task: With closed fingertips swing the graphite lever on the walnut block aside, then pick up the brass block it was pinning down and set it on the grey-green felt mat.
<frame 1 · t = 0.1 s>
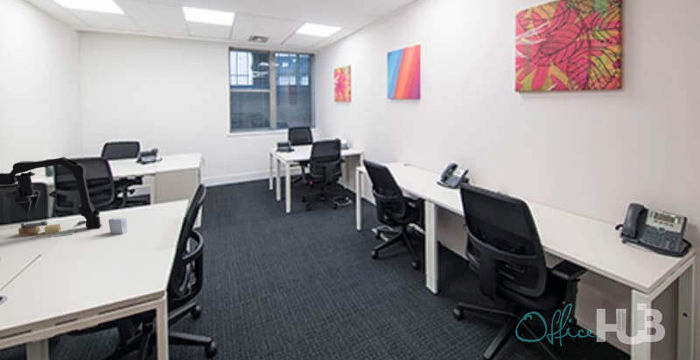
hand: (30, 210, 192), 14 cm above the table, fingers open, 9 cm apart
felt mat: (65, 233, 196), on the table
lever: (34, 224, 194), point 6 cm above the table, hinge at 0.0°
plane block: (30, 233, 195), on the table
brass block: (53, 232, 199), on the table
medicine box: (119, 232, 199), on the table
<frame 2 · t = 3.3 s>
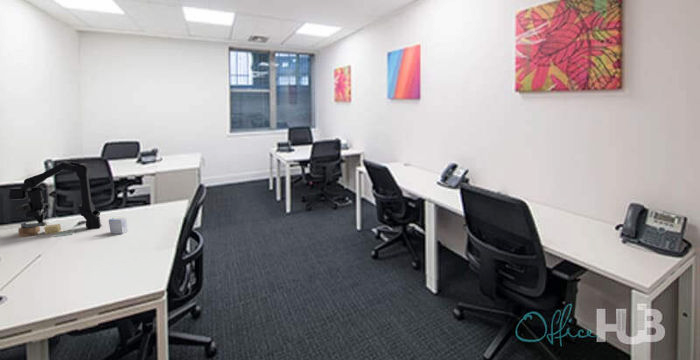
hand: (40, 224, 196), 5 cm above the table, fingers closed
lever: (33, 224, 194), point 6 cm above the table, hinge at 5.2°, touching gripper
everything else where it was.
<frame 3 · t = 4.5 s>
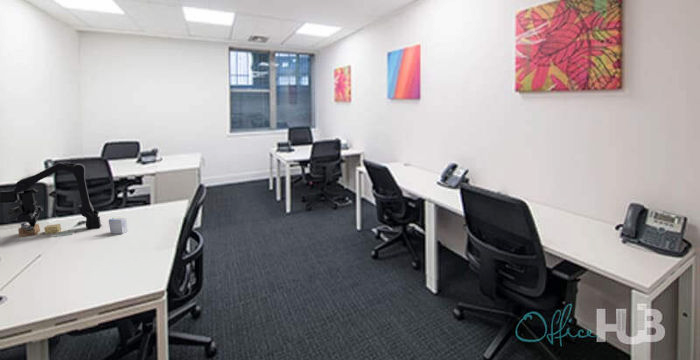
hand: (33, 227, 191), 5 cm above the table, fingers closed
lever: (26, 226, 190), point 6 cm above the table, hinge at 56.1°, touching gripper
everything else where it was.
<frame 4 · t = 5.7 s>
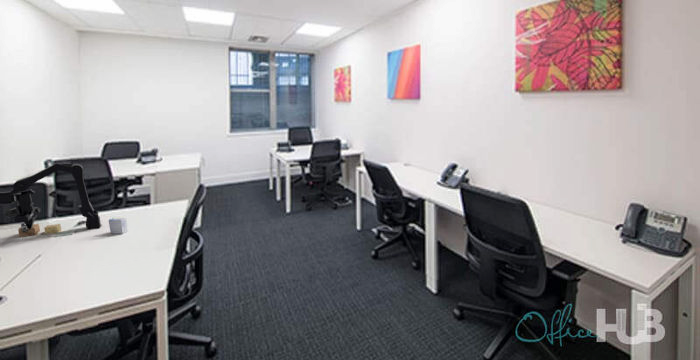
hand: (30, 228, 189), 5 cm above the table, fingers closed
lever: (24, 227, 189), point 6 cm above the table, hinge at 69.1°, touching gripper
everything else where it was.
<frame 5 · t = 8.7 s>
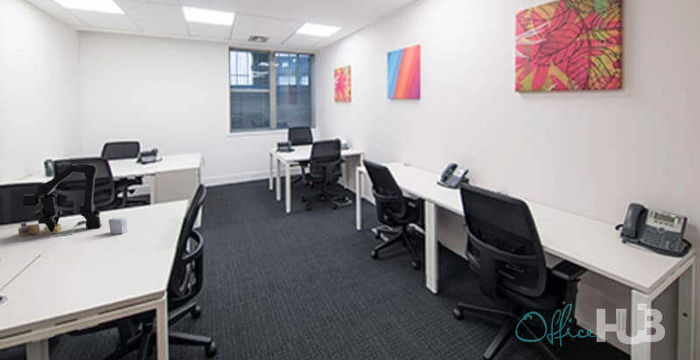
hand: (53, 230, 198), 1 cm above the table, fingers closed on brass block, 5 cm apart
lever: (24, 227, 189), point 6 cm above the table, hinge at 69.4°
brass block: (53, 231, 199), on the table, touching gripper
everything else where it was.
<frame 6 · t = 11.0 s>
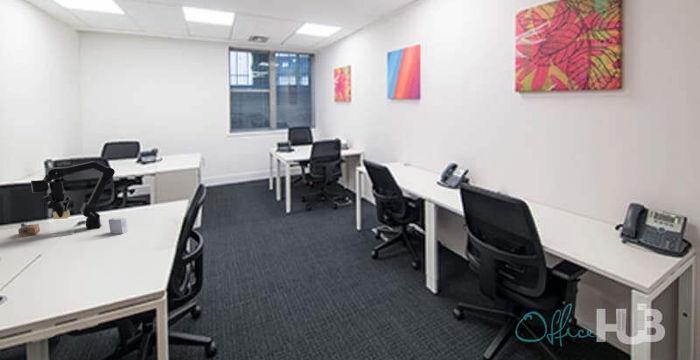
hand: (62, 216, 194), 11 cm above the table, fingers closed on brass block, 5 cm apart
brass block: (62, 217, 194), point 10 cm above the table, touching gripper
everything else where it was.
when the fingers open (3 cm above the table, at t = 12.8 s): brass block drops 1 cm, resting on felt mat.
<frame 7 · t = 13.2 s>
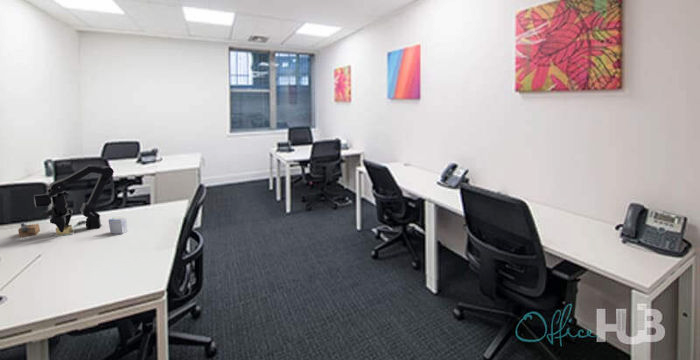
hand: (64, 229, 195), 3 cm above the table, fingers open, 9 cm apart
brass block: (64, 233, 196), resting on felt mat
everything else where it was.
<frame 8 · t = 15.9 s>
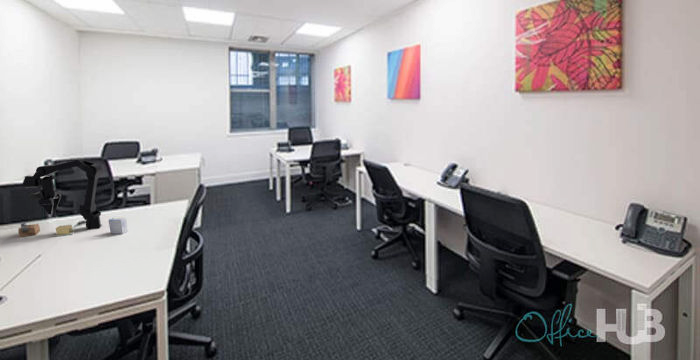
hand: (52, 212, 200), 11 cm above the table, fingers open, 9 cm apart
nothing on the table moved.
at the end: lever at +69° (first picture: +0°); brass block inside the target area on the felt mat (0.0 cm from its centre), point 0.4 cm above the felt mat's base; brass block tilted 0° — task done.
